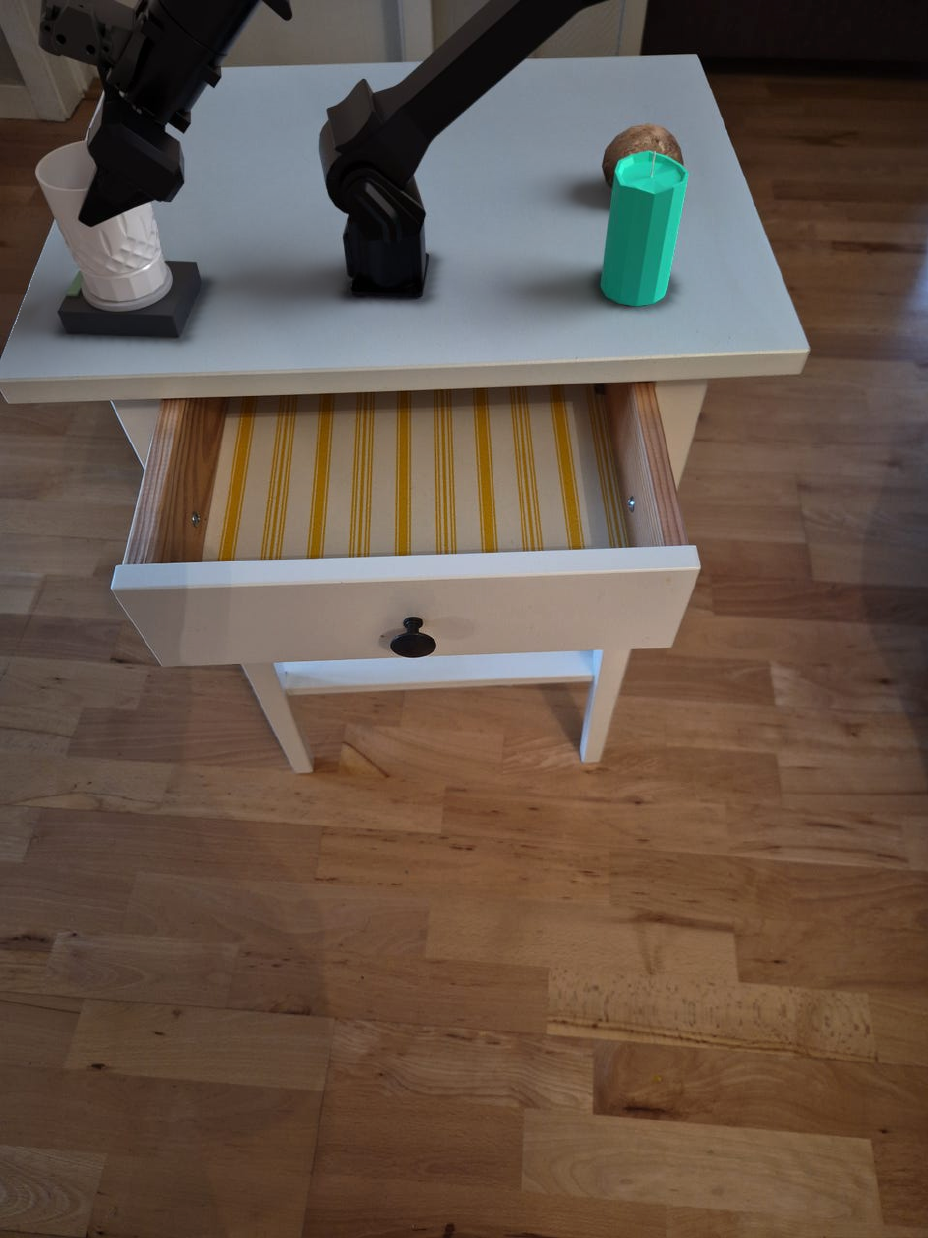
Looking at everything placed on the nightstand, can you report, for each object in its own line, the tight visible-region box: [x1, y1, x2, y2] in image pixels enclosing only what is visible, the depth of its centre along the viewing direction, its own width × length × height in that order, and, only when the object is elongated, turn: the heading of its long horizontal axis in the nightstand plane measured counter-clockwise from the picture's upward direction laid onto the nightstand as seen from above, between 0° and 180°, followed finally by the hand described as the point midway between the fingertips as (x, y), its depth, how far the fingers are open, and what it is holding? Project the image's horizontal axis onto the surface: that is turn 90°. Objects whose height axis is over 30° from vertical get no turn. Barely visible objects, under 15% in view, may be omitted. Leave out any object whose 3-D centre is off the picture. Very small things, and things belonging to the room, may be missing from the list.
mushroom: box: [601, 122, 685, 191], centre depth 89 cm, size 8×8×6 cm
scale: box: [56, 260, 203, 339], centre depth 79 cm, size 10×8×3 cm
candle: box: [599, 151, 690, 307], centre depth 76 cm, size 6×6×12 cm
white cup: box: [34, 139, 167, 302], centre depth 74 cm, size 8×8×10 cm
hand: (87, 191), depth 72 cm, fingers open, 9 cm apart
